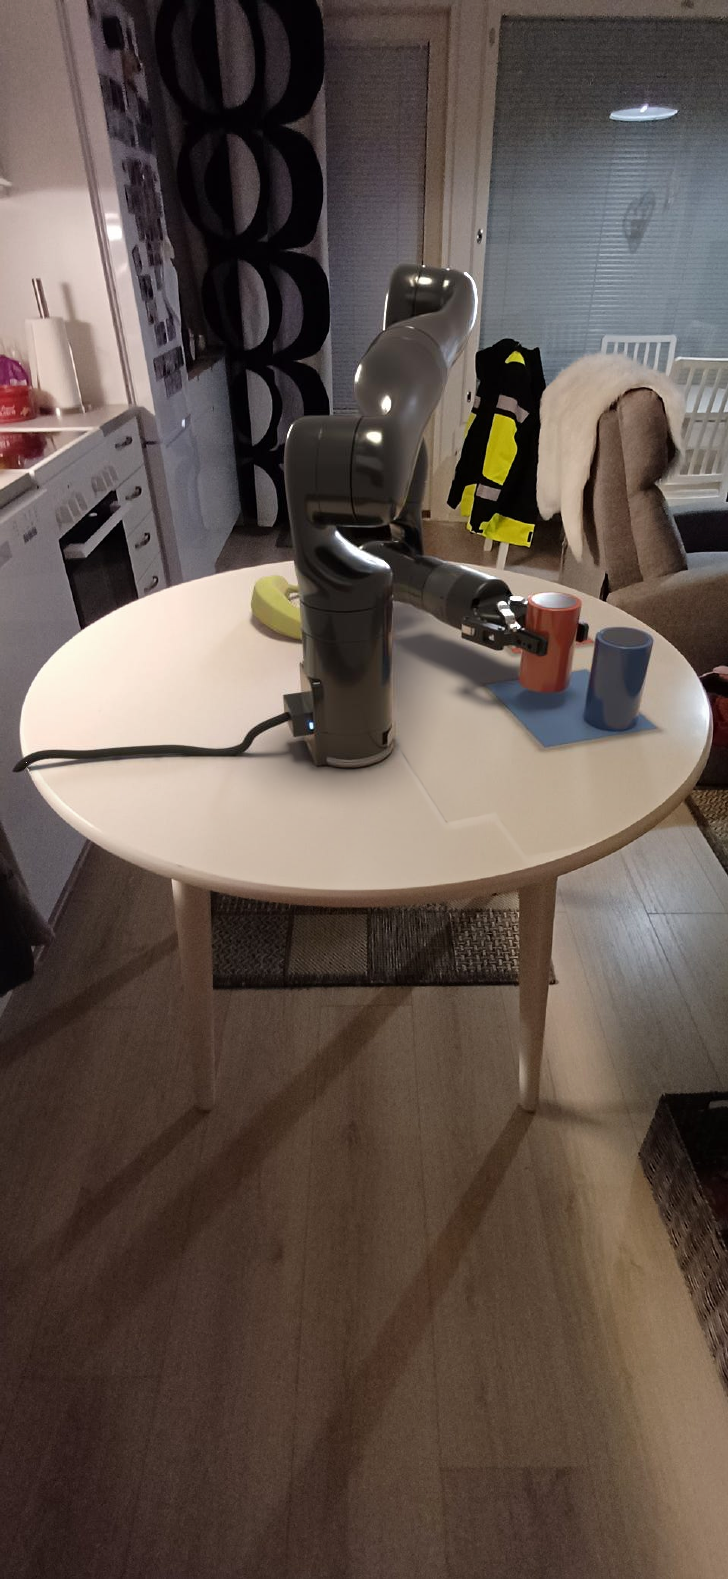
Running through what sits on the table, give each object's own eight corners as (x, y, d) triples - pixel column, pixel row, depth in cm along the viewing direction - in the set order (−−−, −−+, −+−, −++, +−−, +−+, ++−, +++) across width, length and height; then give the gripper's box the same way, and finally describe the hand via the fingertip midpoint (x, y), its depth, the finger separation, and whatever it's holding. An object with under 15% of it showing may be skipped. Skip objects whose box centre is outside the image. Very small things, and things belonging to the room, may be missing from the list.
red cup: (532, 696, 89) (542, 612, 84) (510, 674, 94) (518, 594, 88) (579, 689, 90) (592, 606, 85) (554, 668, 95) (565, 588, 90)
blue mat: (544, 749, 84) (544, 747, 84) (485, 686, 97) (485, 684, 97) (657, 730, 87) (657, 727, 87) (585, 671, 100) (586, 669, 100)
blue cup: (599, 735, 86) (614, 651, 80) (573, 710, 91) (585, 630, 85) (647, 726, 87) (665, 643, 82) (618, 703, 92) (633, 623, 87)
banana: (234, 588, 107) (275, 561, 125) (227, 625, 110) (268, 593, 127) (327, 618, 107) (355, 587, 124) (317, 655, 109) (346, 619, 127)
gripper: (423, 582, 93) (524, 624, 82) (509, 559, 100) (613, 595, 89) (421, 640, 97) (517, 688, 86) (503, 615, 104) (603, 655, 93)
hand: (566, 640), depth 87 cm, fingers closed on red cup, 6 cm apart
